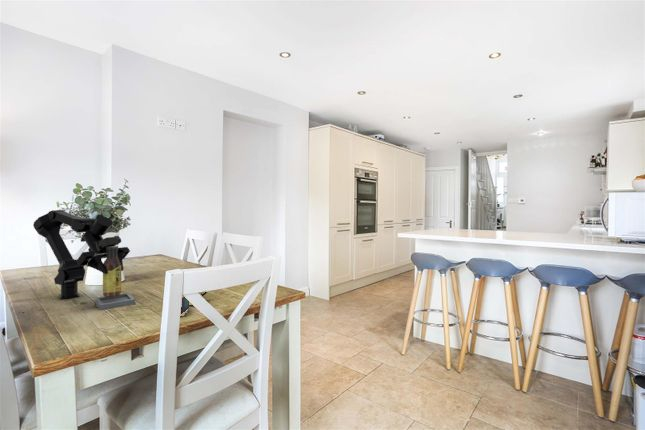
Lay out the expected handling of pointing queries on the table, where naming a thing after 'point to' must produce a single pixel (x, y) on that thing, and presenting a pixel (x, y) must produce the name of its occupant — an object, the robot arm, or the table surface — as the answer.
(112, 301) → the keeper tray
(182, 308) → the flask
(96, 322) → the table surface
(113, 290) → the sauce bottle
